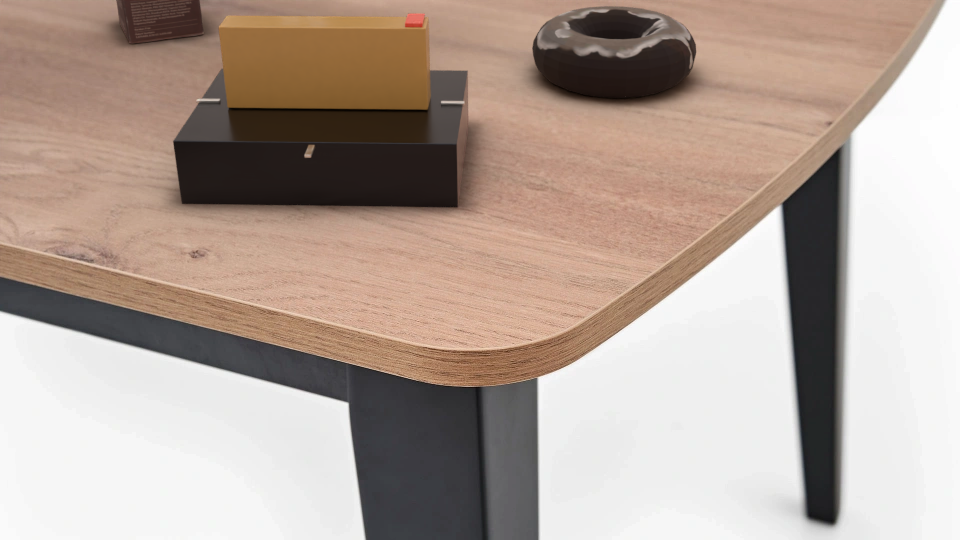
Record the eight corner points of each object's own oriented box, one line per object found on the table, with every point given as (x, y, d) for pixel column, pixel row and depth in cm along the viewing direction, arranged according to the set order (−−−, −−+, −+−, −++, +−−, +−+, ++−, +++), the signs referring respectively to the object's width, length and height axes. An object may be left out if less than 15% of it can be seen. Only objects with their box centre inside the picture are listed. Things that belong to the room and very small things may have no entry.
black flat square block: (170, 221, 68) (160, 153, 66) (233, 113, 82) (226, 55, 80) (457, 225, 68) (456, 156, 66) (471, 116, 82) (470, 57, 80)
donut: (604, 119, 81) (607, 61, 79) (500, 70, 89) (500, 18, 87) (728, 82, 87) (733, 28, 85) (619, 40, 95) (621, -10, 93)
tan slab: (227, 108, 72) (217, 22, 70) (235, 94, 74) (226, 11, 72) (428, 110, 72) (425, 24, 69) (430, 96, 74) (428, 12, 71)
